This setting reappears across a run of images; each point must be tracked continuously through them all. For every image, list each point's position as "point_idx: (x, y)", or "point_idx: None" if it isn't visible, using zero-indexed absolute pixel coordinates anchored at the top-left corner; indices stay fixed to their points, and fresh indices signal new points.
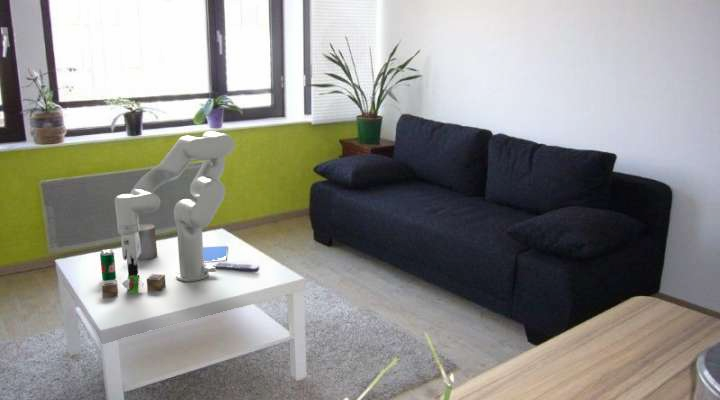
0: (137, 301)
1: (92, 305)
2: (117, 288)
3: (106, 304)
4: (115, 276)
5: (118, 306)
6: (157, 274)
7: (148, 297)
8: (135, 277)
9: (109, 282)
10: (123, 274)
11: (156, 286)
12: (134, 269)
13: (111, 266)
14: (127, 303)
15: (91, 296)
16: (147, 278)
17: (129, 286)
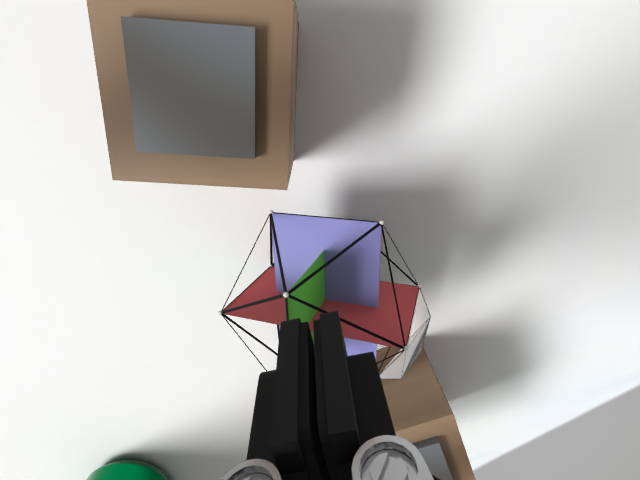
0: (526, 156)
1: (552, 412)
2: None
3: (550, 347)
4: (110, 478)
5: (604, 261)
6: (102, 103)
7: (443, 91)
8: (301, 317)
9: None
10: (11, 450)
11: (295, 58)
12: (366, 392)
13: None
14: (557, 220)
15: None
16: (274, 182)
17: None
